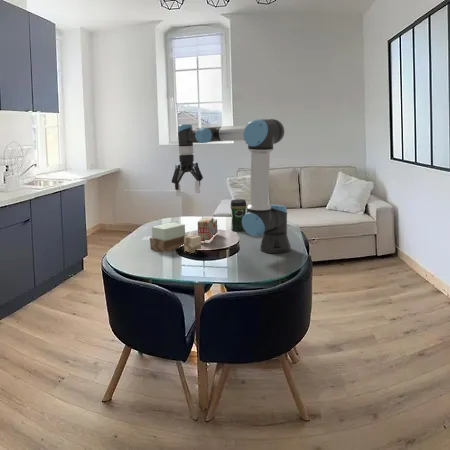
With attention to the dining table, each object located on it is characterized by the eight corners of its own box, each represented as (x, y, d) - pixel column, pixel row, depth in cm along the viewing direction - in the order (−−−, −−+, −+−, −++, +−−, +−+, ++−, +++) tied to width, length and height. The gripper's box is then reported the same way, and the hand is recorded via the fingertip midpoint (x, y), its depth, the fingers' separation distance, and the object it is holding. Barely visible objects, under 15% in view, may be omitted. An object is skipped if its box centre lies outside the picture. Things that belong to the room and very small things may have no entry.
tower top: (185, 235, 265) (184, 224, 264) (164, 240, 255) (163, 229, 254) (173, 233, 272) (172, 222, 271) (152, 238, 262) (151, 226, 261)
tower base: (188, 246, 267) (187, 235, 265) (165, 252, 255) (164, 241, 254) (173, 243, 275) (173, 232, 273) (150, 249, 263) (149, 238, 262)
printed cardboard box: (207, 234, 291) (206, 213, 288) (217, 234, 290) (217, 214, 287) (198, 243, 270) (197, 221, 268) (209, 244, 269) (208, 221, 267)
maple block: (201, 251, 254) (200, 236, 253) (192, 254, 250) (192, 238, 248) (193, 249, 258) (192, 234, 257) (184, 252, 254) (183, 236, 252)
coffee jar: (246, 228, 304) (246, 198, 300) (247, 231, 296) (247, 200, 292) (230, 228, 303) (229, 198, 300) (231, 231, 296) (230, 200, 292)
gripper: (198, 152, 274) (200, 190, 279) (163, 155, 257) (165, 196, 261) (208, 152, 269) (210, 191, 273) (172, 156, 252) (174, 197, 256)
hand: (188, 194), depth 267 cm, fingers open, 13 cm apart
